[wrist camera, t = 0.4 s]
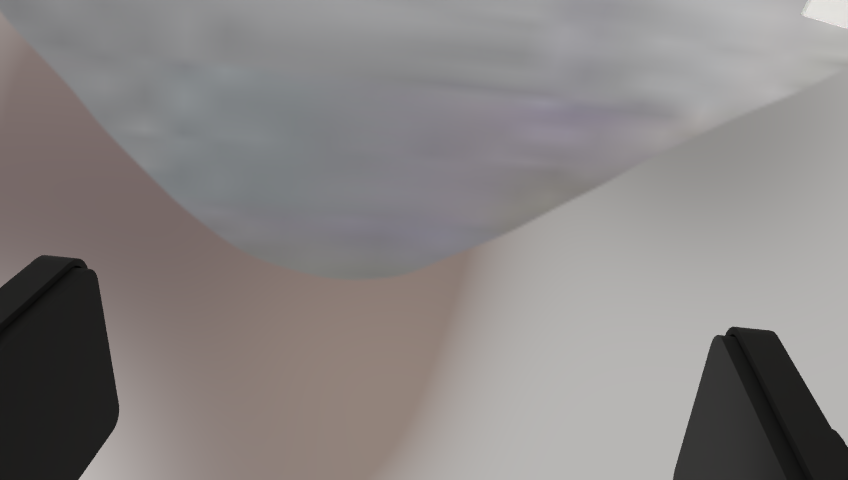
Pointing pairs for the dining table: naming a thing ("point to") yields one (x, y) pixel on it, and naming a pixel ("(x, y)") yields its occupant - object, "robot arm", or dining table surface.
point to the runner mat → (828, 11)
